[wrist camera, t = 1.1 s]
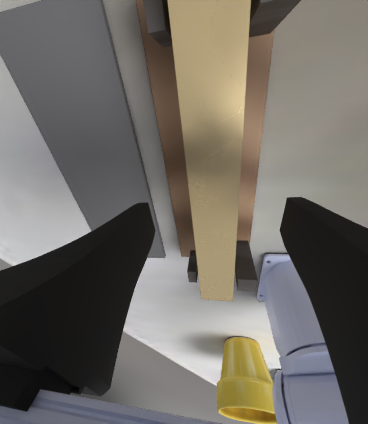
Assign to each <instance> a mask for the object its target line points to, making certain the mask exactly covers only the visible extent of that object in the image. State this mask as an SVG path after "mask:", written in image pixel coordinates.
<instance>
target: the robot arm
mask: <svg viewBox="0 0 368 424" xmlns="http://www.w3.org/2000/svg"><path fill="white" fill-rule="evenodd" d="M155 231H156V230H155V226H154V222H153V219H152V215H151V211H150V207H149V204H148V202H145V203H137V204H135V205H133V206H131V207H130V208H128V209H126V210H125V211H123V212H122V213H120V214H119V215H117V216H116V217H114V218H113V219H111V220H110V221H108V222H106V223H105V224H103V225H101V226H100V227H98V228H96V229H95V230H93V231H91V232H90V233H88V234H86V235H84V236H82V237H81V238H79V239H77V240H75V241H73V242H71V243H69V244H67V245H64V246H62V247H60V248H58V249H55V250H53V251H51V252H48V253H46V254H44V255H42V256H39V257H37V258H34V259H31V260H29V261H26V262H24V263H21V264H18V265H15V266H13V267H10V268H7V269H4V270H1V271H0V424H221V423H215V422H210V421H205V420H200V419H194V418H189V417H184V416H179V415H173V414H168V413H163V412H158V411H152V410H147V409H142V408H137V407H131V406H126V405H121V404H115V403H110V402H105V401H99V400H94V399H88V398H84V397H78V396H73V395H70V393H76V394H81V393H84V394H90V395H95V396H102V395H103V394H105V393H106V392H107V391H108V390H109V389H110V386H111V381H112V376H113V371H114V367H115V362H116V358H117V353H118V348H119V344H120V340H121V336H122V332H123V328H124V324H125V320H126V317H127V313H128V309H129V306H130V302H131V299H132V296H133V292H134V289H135V286H136V283H137V281H138V278H139V276H140V273H141V271H142V269H143V266H144V264H145V261H146V259H147V257H148V254H149V252H150V249H151V247H152V243H153V240H154V236H155ZM280 233H281V236H282V239H283V242H284V245H285V248H286V250H287V252H288V254H266V255H265V256H264V259H263V265H262V270H261V276H260V281H259V287H258V292H257V300H258V301H263V302H265V306H266V310H267V314H268V318H269V322H270V326H271V330H272V334H273V338H274V342H275V345H276V348H277V351H278V353H279V354H280V356H281V357H280V358H279V360H280V365H281V369H282V370H278V371H277V372H276V375H275V379H274V382H273V389H272V394H273V404H274V411H275V416H276V420H277V424H368V228H366V227H363V226H361V225H359V224H357V223H355V222H352V221H350V220H348V219H346V218H344V217H342V216H340V215H338V214H336V213H334V212H332V211H330V210H328V209H326V208H324V207H322V206H320V205H318V204H316V203H314V202H312V201H309V200H307V199H305V198H302V197H290V198H287V201H286V205H285V210H284V214H283V218H282V223H281V227H280Z"/></svg>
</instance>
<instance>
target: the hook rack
mask: <svg viewBox="0 0 368 424" xmlns="http://www.w3.org/2000/svg"><path fill="white" fill-rule="evenodd" d="M300 1H301V0H251V6H250V23H249V40H248V57H247V73H246V90H245V107H244V124H243V140H242V157H241V174H240V191H239V208H238V224H237V241H236V258H235V275H236V283H237V290H242V291H256V287H257V281H258V280H257V276H256V272H255V267H254V263H253V259H252V255H251V251H250V246H249V245H250V237H251V228H252V219H253V210H254V202H255V193H256V184H257V176H258V167H259V158H260V150H261V141H262V132H263V124H264V115H265V106H266V98H267V89H268V80H269V72H270V63H271V54H272V46H273V37H274V29H275V28H276V27H277V26H278V25H279V24H280V22H281V21H282V20H283V19H284V18H285V17H286V16H287V15H288V14H289V13H290V12H291V10H292V9H293V8H294V7H295V6H296V5H297V4H298V3H299V2H300ZM136 5H137V10H138V16H139V21H140V27H141V33H142V38H143V44H144V49H145V55H146V61H147V66H148V72H149V77H150V83H151V89H152V94H153V100H154V105H155V111H156V117H157V122H158V128H159V133H160V139H161V145H162V150H163V156H164V161H165V167H166V173H167V178H168V184H169V189H170V195H171V200H172V206H173V212H174V217H175V223H176V228H177V234H178V240H179V245H180V251H181V256H182V257H189V264H188V271H187V272H188V279H189V282H197V277H198V266H197V257H196V248H195V239H194V231H193V222H192V213H191V204H190V195H189V186H188V177H187V169H186V160H185V151H184V142H183V133H182V124H181V115H180V107H179V98H178V89H177V80H176V71H175V62H174V53H173V45H172V36H171V27H170V18H169V9H168V0H136Z"/></svg>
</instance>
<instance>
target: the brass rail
mask: <svg viewBox="0 0 368 424" xmlns="http://www.w3.org/2000/svg"><path fill="white" fill-rule="evenodd" d="M250 6H251V0H168V9H169V18H170V27H171V36H172V45H173V53H174V62H175V71H176V80H177V89H178V98H179V107H180V115H181V124H182V133H183V142H184V151H185V160H186V169H187V177H188V186H189V195H190V204H191V213H192V222H193V231H194V239H195V248H196V257H197V266H198V275H199V284H200V293H201V299H205V300H220V301H233V291H234V275H235V258H236V241H237V224H238V208H239V191H240V174H241V157H242V140H243V124H244V107H245V90H246V73H247V57H248V40H249V23H250Z"/></svg>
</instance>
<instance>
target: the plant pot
mask: <svg viewBox="0 0 368 424" xmlns="http://www.w3.org/2000/svg"><path fill="white" fill-rule="evenodd" d="M272 389H273V381H272V378H271V376H270V373H269V370H268V368H267V365H266V362H265V360H264V357H263V354H262V352H261V349H260V346H259V344H258V343H257V342H256V341H255V340H253V339H250V338H246V337H232V338H229V339H227V340H226V341H225V344H224V353H223V362H222V370H221V378H220V381H219V382H218V383H217V409H218V412H219V413H220V414H222V415H223V416H226V417H228V418H231V419H235V420H240V421H245V422H251V423H259V424H277V420H276V416H275V411H274V404H273V394H272Z"/></svg>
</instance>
